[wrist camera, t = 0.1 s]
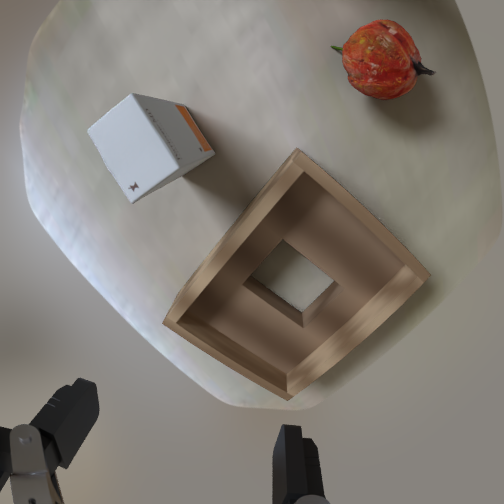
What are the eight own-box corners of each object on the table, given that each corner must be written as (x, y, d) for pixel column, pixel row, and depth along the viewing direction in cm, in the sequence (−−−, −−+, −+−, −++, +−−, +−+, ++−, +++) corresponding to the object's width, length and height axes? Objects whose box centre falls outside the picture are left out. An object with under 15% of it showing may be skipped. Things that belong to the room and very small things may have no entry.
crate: (296, 147, 29) (302, 152, 23) (408, 250, 32) (431, 275, 26) (178, 293, 35) (162, 323, 30) (286, 365, 38) (287, 400, 33)
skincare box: (217, 153, 29) (182, 170, 18) (181, 176, 30) (130, 207, 19) (184, 101, 28) (131, 90, 17) (149, 126, 29) (83, 132, 18)
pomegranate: (326, 91, 28) (416, 133, 24) (294, 50, 22) (406, 90, 17) (360, 40, 26) (448, 74, 22) (335, -7, 20) (442, 23, 16)
